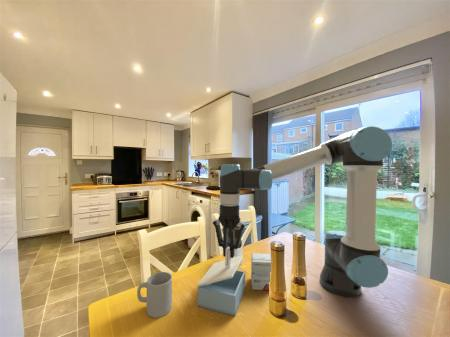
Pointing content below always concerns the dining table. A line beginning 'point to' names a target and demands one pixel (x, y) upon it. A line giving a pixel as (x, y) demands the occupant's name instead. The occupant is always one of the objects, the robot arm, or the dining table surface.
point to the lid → (220, 271)
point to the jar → (237, 251)
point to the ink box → (260, 271)
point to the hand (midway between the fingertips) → (228, 265)
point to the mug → (157, 294)
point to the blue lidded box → (223, 294)
